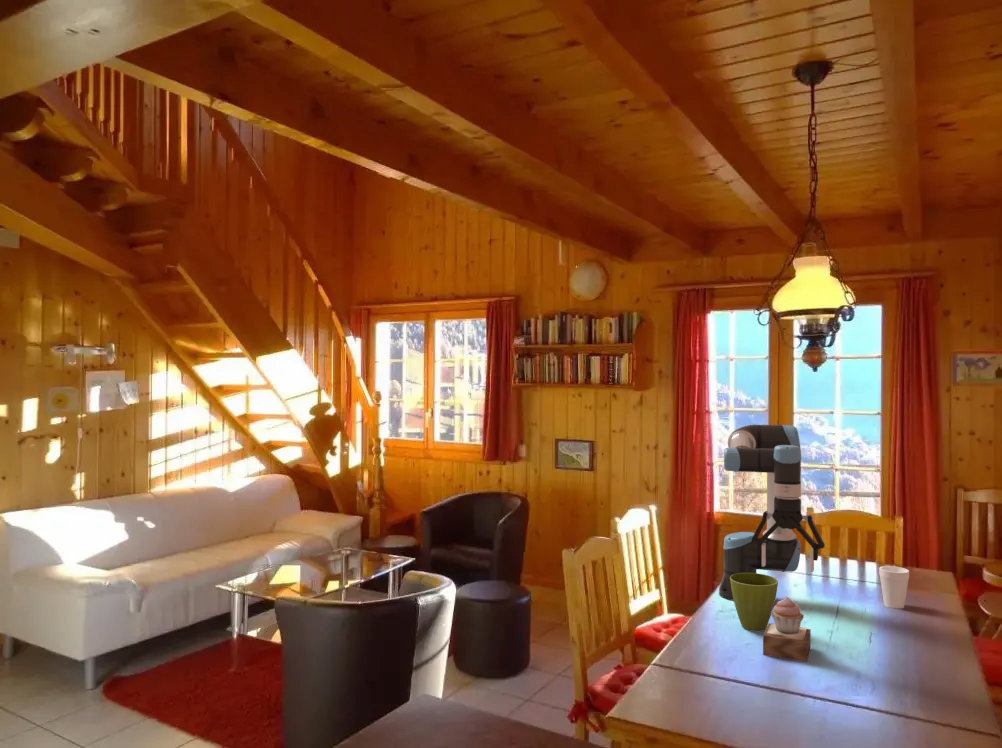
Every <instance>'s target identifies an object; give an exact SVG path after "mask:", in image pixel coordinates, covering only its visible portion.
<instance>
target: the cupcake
mask: <svg viewBox="0 0 1002 748" xmlns="http://www.w3.org/2000/svg"><path fill="white" fill-rule="evenodd" d="M771 612H772V613H771V617H772V618H773V621H774V622H773V623H775V626H776V629H777V630H778V631H780V632H783V633H797V632H798V631H799V628H800V627H801V623H802V621H803V619H804V615H805V614H802V613H801V608H800V607H799V605H798V604H797V603H796V602H794V601H793V600H792V598H789V597H788V596H785V598H784V599H782V600H780V601H777V602H776V604H774V607H773V610H772V611H771Z"/></svg>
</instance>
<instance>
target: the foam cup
mask: <svg viewBox="0 0 1002 748" xmlns="http://www.w3.org/2000/svg"><path fill="white" fill-rule="evenodd" d="M878 575H879V580H880V586H881V592H882V598H883V600H882V601H883V605H884V606H885V607H888V608H891V609H897V610H898V609H904V608H905V604H906V598H907V591H908V584H909V579H910V570H909V569H907V568H905V567H900V566H894V565H893V566H892V565H881V566H880V567H879V568H878Z"/></svg>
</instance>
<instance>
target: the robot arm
mask: <svg viewBox="0 0 1002 748" xmlns="http://www.w3.org/2000/svg"><path fill="white" fill-rule="evenodd" d="M727 446H728V447H725V448H724V449H723V469H724V470H725V471H728V472H734V473H739V472H740V473H743V472H744V473H765V474H766V497H767V498H766V510H765V511H763V513H762V519H761V521H760V523H759V524H758V527H757V529H756V530H755V531H754V532H751V531H739V532H732V533H729V534H727V535H725V537H724V539H723V548H722V549H723V575H722V579H721V581H720V584H719V587H718V595H719V596H720V597H721V598H723V599H727V600H730V601H734V599H733V594H732V589H731V582H730V576H731V575H733V574H737V573H757V570H762V571H774V572H783V573H784V572H791V573H792V572H795V571H796V570H797V569H798V568H799V563H800V557H801V547H802V544H801V540H799V539H797V535H796V533H795V532H794V531H793V530H794V529H795V530H796V531H797V532H799V533H800V535H802V538H804V540H805V541H806V542H807V543H808V544H809V545H810V550H809V551H810V553H809V555H810V557H809V560H810V564H809V565H810V568H809V569H810V571H809V572H810V573H814V572H815V561H816V562H817V561H818V559H819V550H820V549H824V548H825V545H826V544H825V542H824V540H823V538H822V536H821V534H820V532H819V530H818V528H817V527H816V525H815V522H814V520H813V519H814V518H813V515H812V514H808V515H803V514H802V500H801V496H802V484H801V483H802V482H801V481H802V480H801V479H802V478H801V474H802V473H801V471H802V450H801V449H802V448H801V441H800V436H799V431H798V429H797V427H796V426H795V425H788V424H786V425H785V424H748V425H745V426H741V427H739V428H737V429H735V430H734V431H732V432H731V433H730V435H729V436H728V440H727ZM803 520H804V521H805V523H807V524H808V527H809V529H810V531H811V533H812V535H813V536H814V538H815V540H816V541H815V540H814V538H812V536H811V535H810V534H809V533H808V532H807V531H806V529H805V528H804V527H803V526H802V524H801V523H802V521H803ZM765 525H766V529H765V530H764V531H763V532H762V530H763V529H764V527H765ZM761 532H762V536H761V537H759V536H760V534H761ZM816 542H817V543H816Z"/></svg>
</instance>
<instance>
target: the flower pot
mask: <svg viewBox="0 0 1002 748" xmlns="http://www.w3.org/2000/svg"><path fill="white" fill-rule="evenodd" d="M730 582H731V589H732V594H733V599H734V600H733V602H734V607H735V610H736V613H737V617H738V619H739V622H740V624H741V627H742V628H743V629H744V630H747V631H750V632H763V630H764V631H765V630H766V628H767V626H768V624H769V623H770V619H771V617H772V615H771V613H772V612H771V611H774V606H775V603H776V597H777V592H778V584H779V579H777V578H775V577H773V576H771V575H768V574H764V573H757V572H756V573H737V574H733V575H731V576H730Z"/></svg>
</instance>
